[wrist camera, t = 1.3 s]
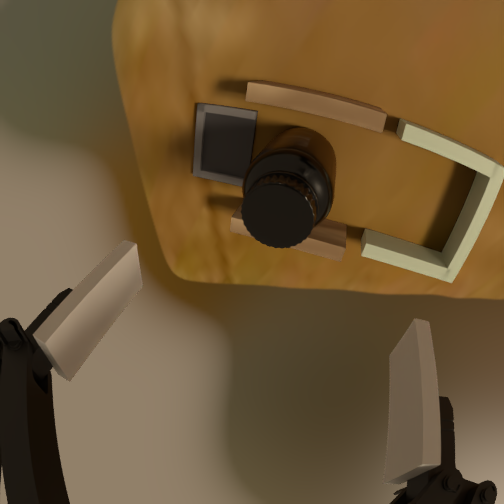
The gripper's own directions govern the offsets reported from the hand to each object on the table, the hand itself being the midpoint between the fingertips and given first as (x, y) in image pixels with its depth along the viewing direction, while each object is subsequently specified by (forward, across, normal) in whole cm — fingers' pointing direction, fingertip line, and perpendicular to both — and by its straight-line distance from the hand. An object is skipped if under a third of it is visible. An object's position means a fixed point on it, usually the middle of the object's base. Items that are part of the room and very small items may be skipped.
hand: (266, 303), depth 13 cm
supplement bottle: (+19, -1, 0) cm, 19 cm away
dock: (+19, +12, 0) cm, 22 cm away
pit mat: (+19, -9, +1) cm, 21 cm away
